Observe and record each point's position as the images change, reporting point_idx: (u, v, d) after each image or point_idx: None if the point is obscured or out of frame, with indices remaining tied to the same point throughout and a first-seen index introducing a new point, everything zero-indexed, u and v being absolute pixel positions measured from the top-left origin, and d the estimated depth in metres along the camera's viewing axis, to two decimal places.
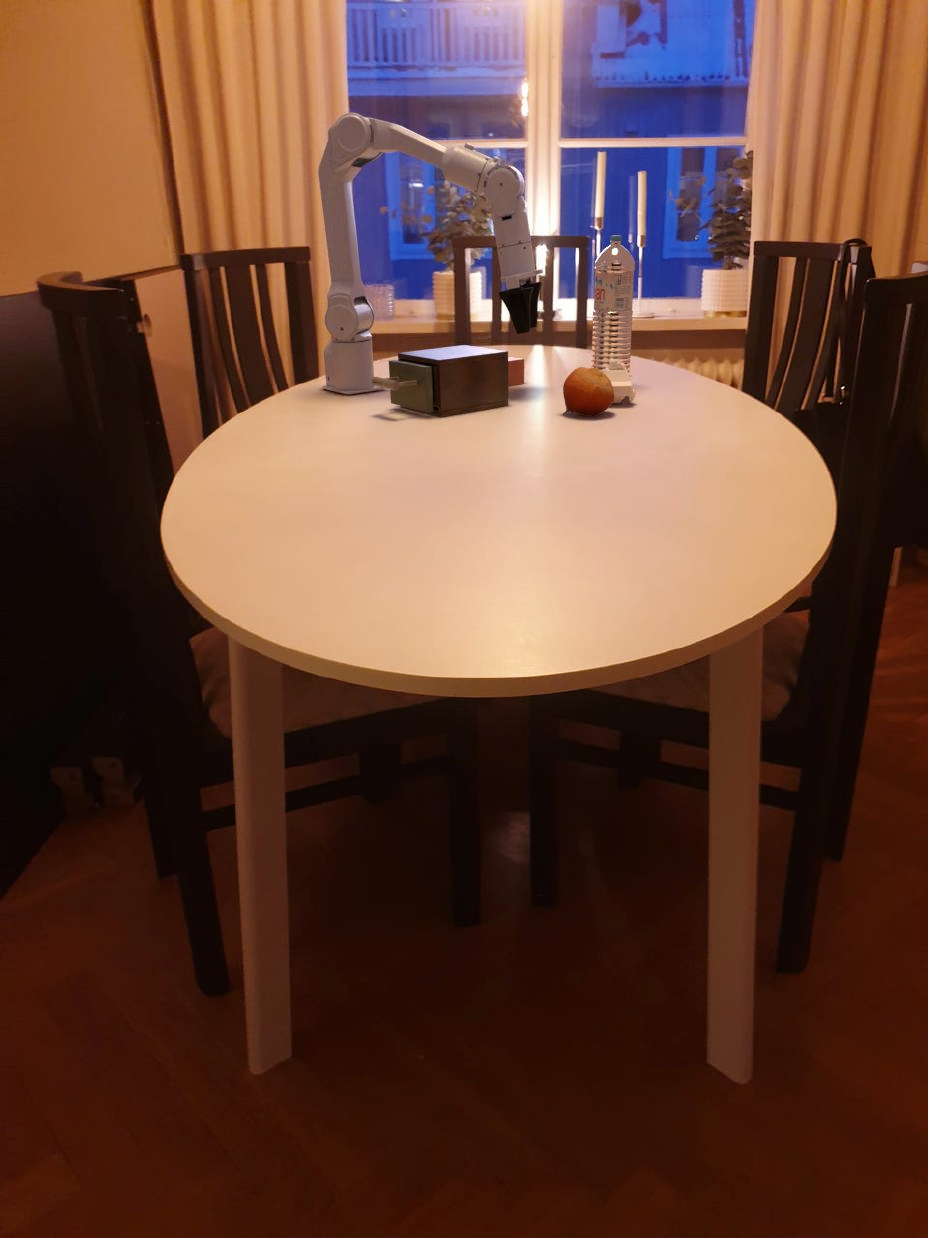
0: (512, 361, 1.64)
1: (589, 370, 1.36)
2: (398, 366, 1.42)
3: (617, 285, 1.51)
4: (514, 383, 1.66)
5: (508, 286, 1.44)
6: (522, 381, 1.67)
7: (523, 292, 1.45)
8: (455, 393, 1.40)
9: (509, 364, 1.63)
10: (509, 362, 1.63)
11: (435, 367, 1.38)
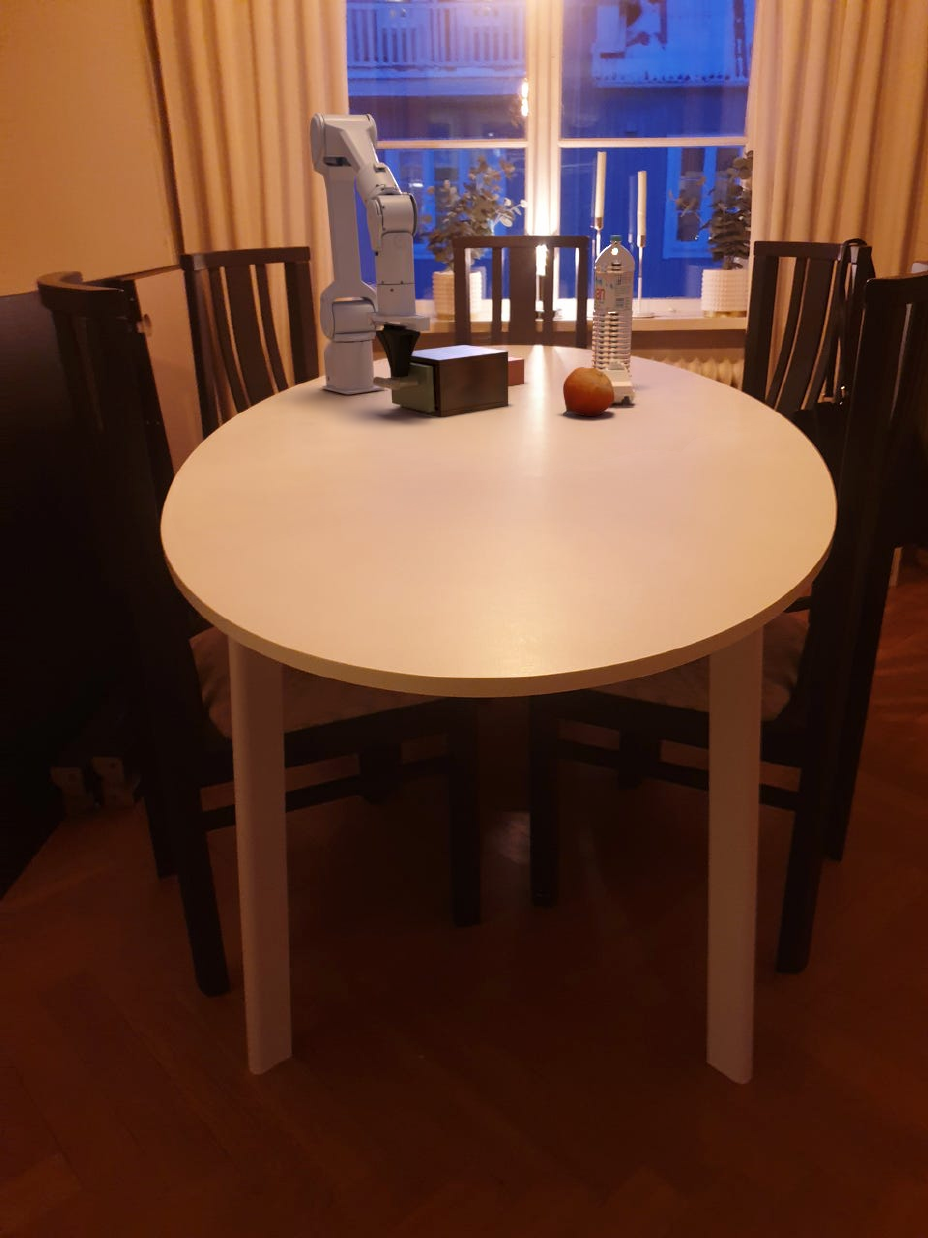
0: (512, 361, 1.64)
1: (589, 370, 1.36)
2: None
3: (617, 285, 1.51)
4: (514, 383, 1.66)
5: None
6: (522, 381, 1.67)
7: None
8: (455, 393, 1.40)
9: (509, 364, 1.63)
10: (509, 362, 1.63)
11: (436, 367, 1.39)
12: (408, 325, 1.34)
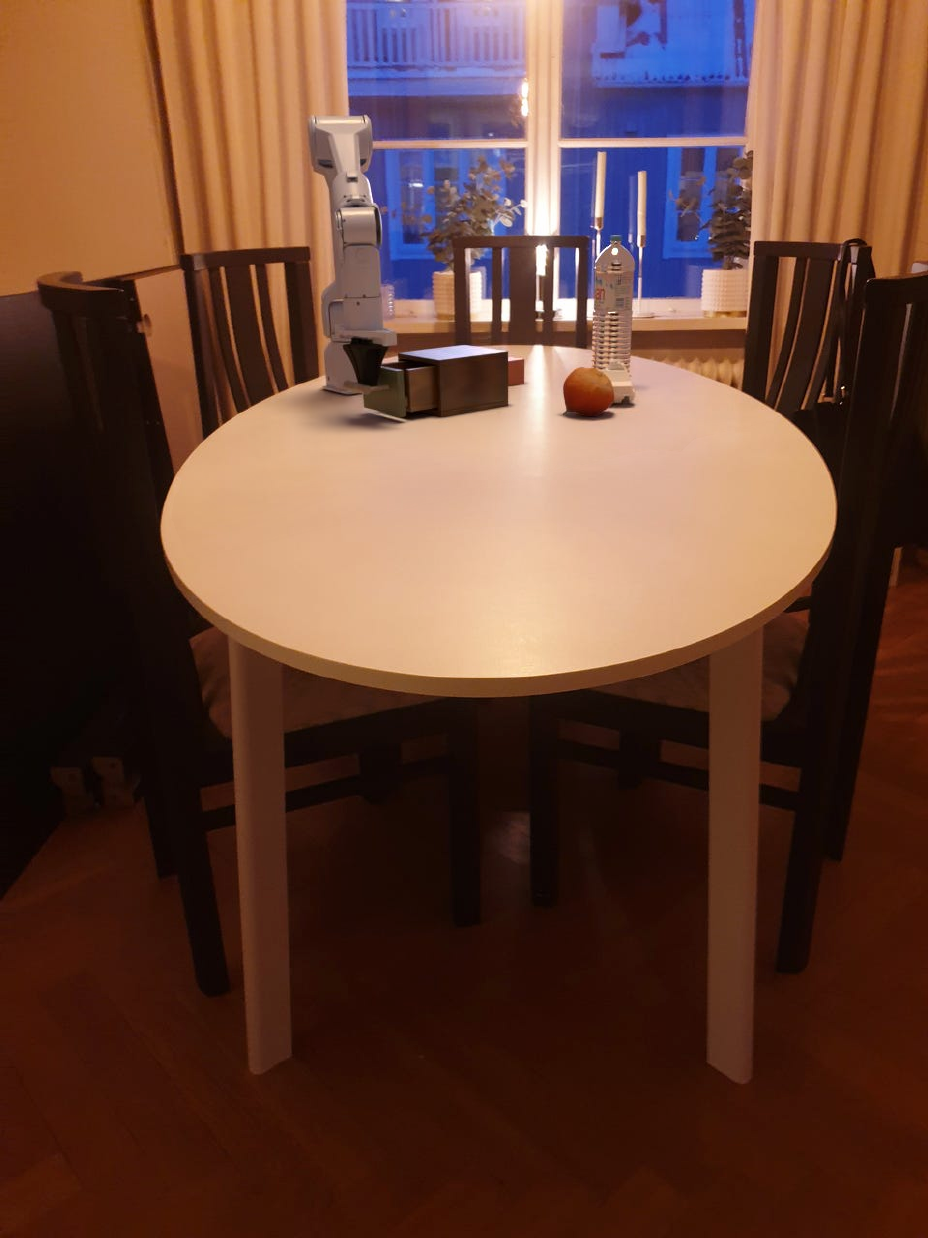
0: (512, 361, 1.64)
1: (589, 370, 1.36)
2: None
3: (617, 285, 1.51)
4: (514, 383, 1.66)
5: None
6: (522, 381, 1.67)
7: None
8: (455, 393, 1.40)
9: (509, 364, 1.63)
10: (509, 362, 1.63)
11: (407, 371, 1.36)
12: (375, 339, 1.32)
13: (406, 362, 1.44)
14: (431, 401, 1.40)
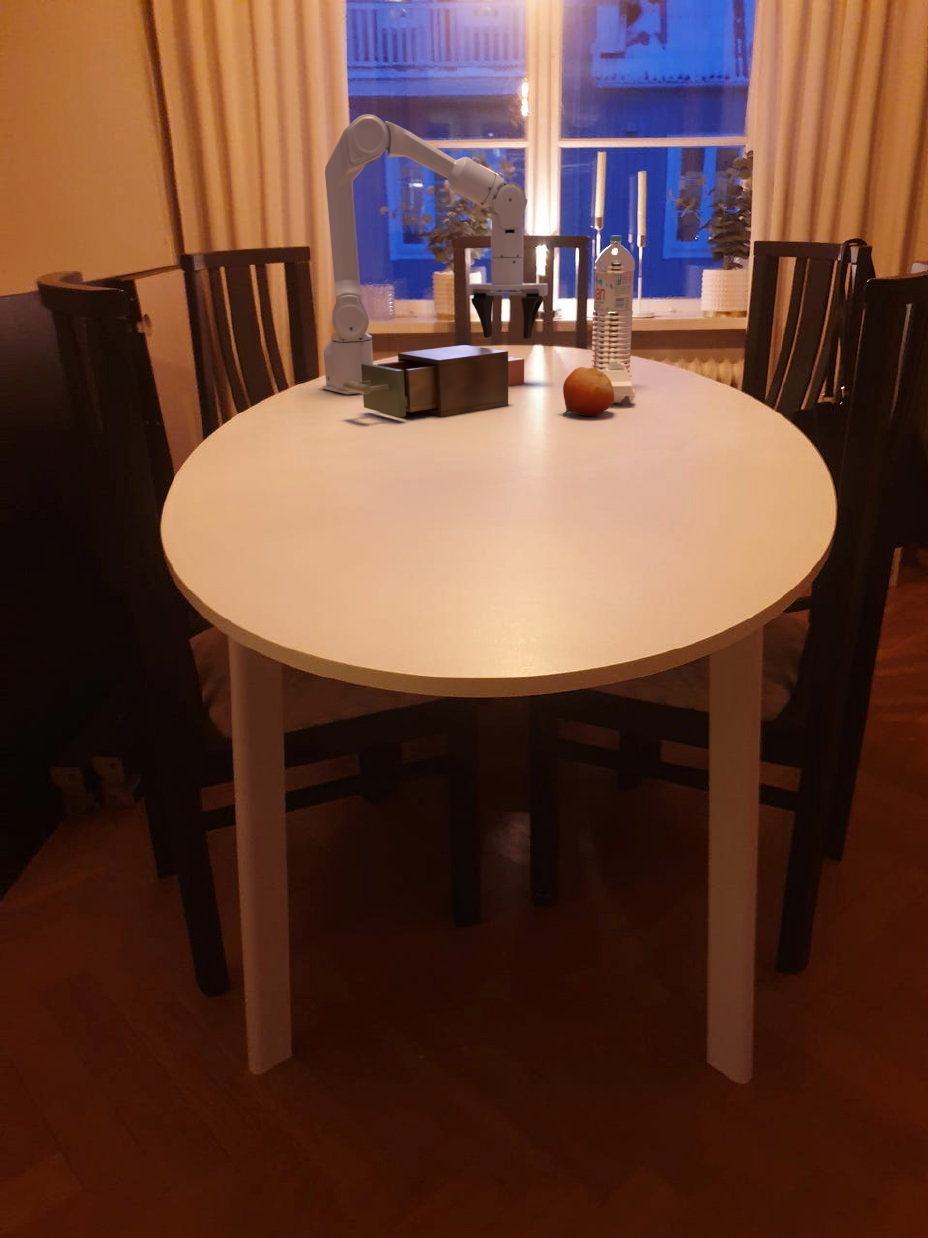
0: (512, 361, 1.64)
1: (589, 370, 1.36)
2: (370, 370, 1.39)
3: (617, 285, 1.51)
4: (514, 383, 1.66)
5: None
6: (522, 381, 1.67)
7: None
8: (455, 393, 1.40)
9: (509, 364, 1.63)
10: (509, 362, 1.63)
11: (407, 371, 1.36)
12: (524, 292, 1.59)
13: (406, 362, 1.44)
14: (431, 401, 1.40)
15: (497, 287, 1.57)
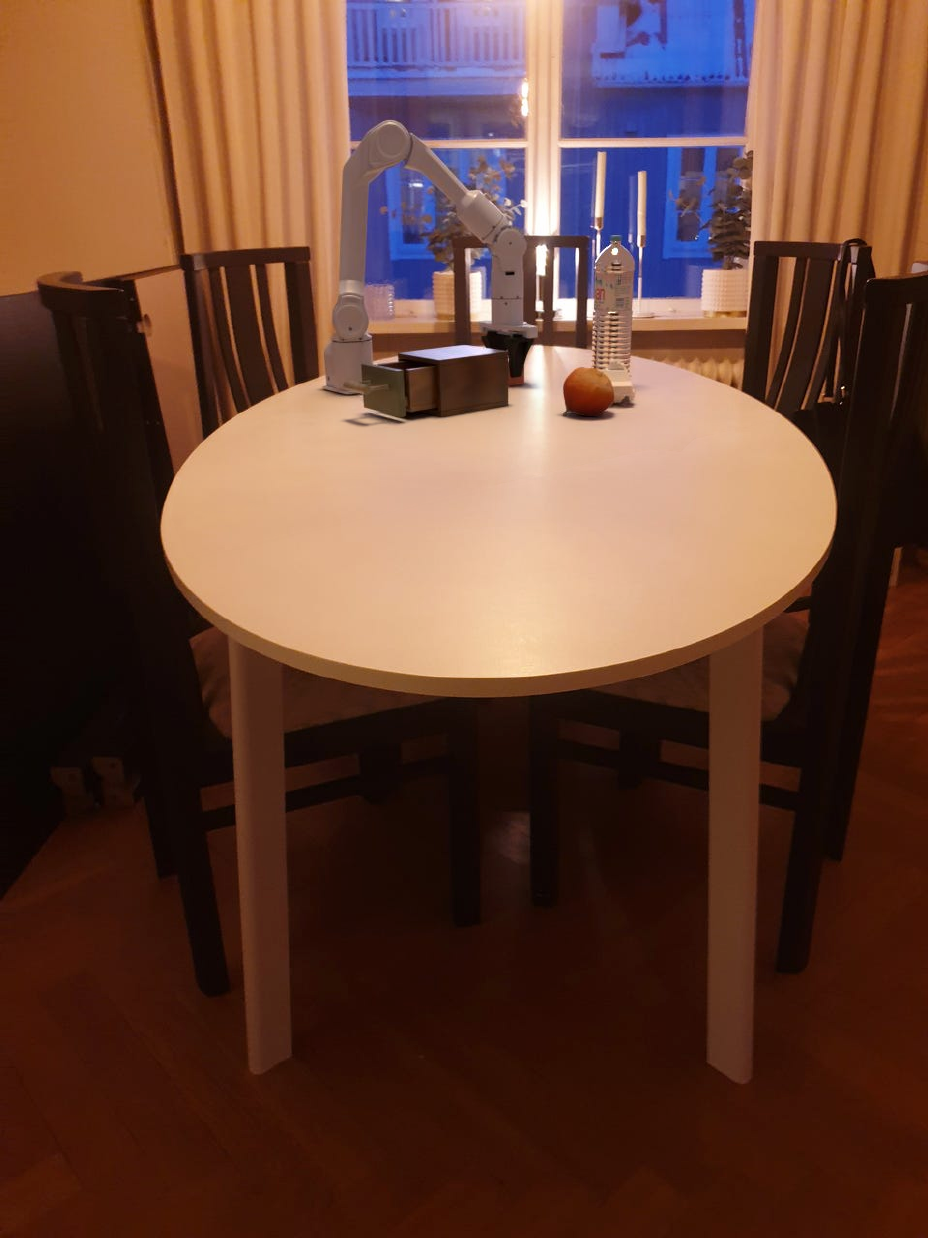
0: None
1: (589, 370, 1.36)
2: (370, 370, 1.39)
3: (617, 285, 1.51)
4: (514, 383, 1.66)
5: (531, 335, 1.58)
6: (522, 381, 1.67)
7: (529, 341, 1.62)
8: (455, 393, 1.40)
9: None
10: None
11: (407, 371, 1.36)
12: (496, 329, 1.66)
13: (406, 362, 1.44)
14: (431, 401, 1.40)
15: (525, 323, 1.65)
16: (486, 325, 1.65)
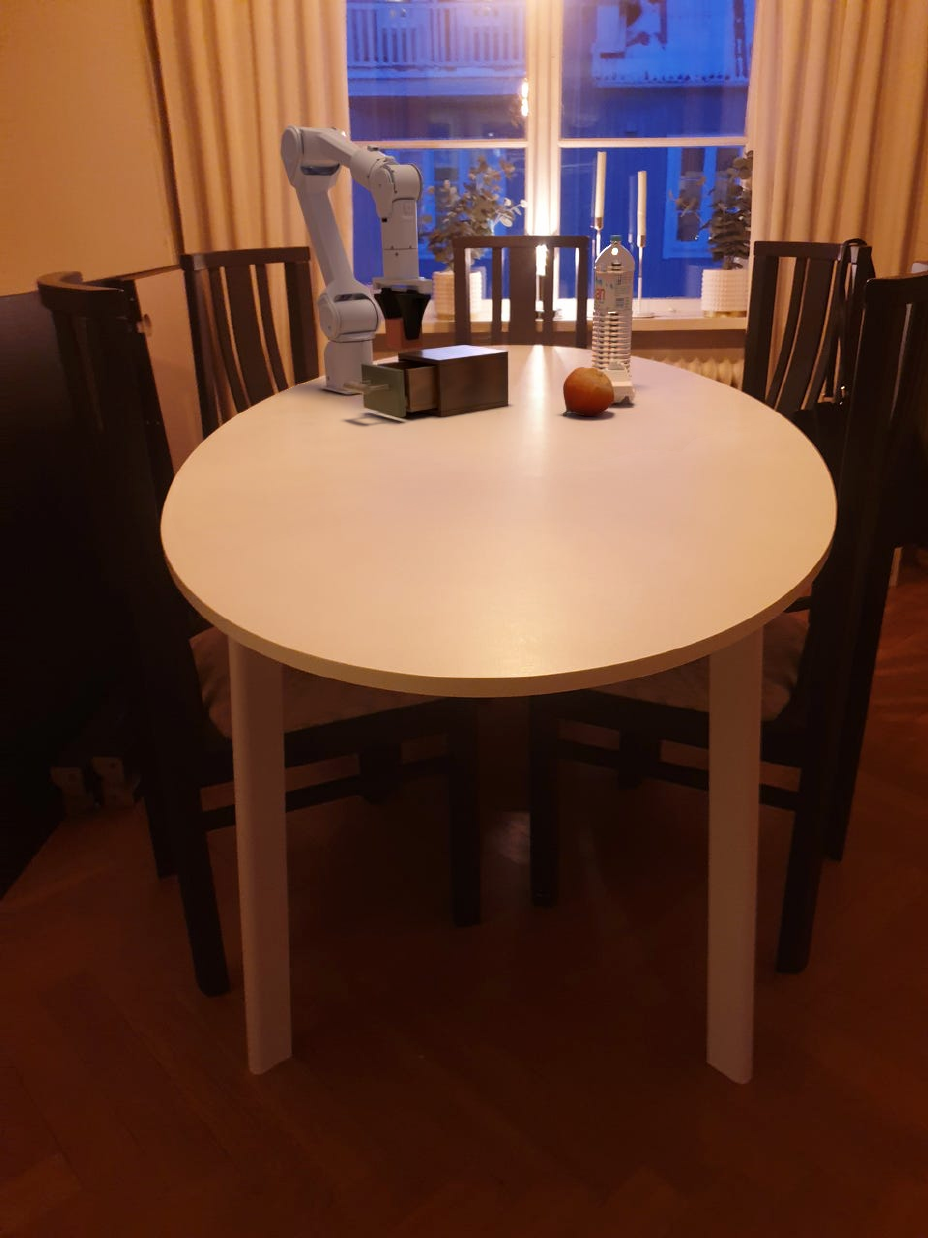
0: None
1: (589, 370, 1.36)
2: (370, 370, 1.39)
3: (617, 285, 1.51)
4: (411, 346, 1.47)
5: (424, 290, 1.40)
6: (420, 344, 1.48)
7: (425, 298, 1.43)
8: (455, 393, 1.40)
9: None
10: None
11: (407, 371, 1.36)
12: (391, 286, 1.48)
13: (406, 362, 1.44)
14: (431, 401, 1.40)
15: None
16: (379, 281, 1.46)
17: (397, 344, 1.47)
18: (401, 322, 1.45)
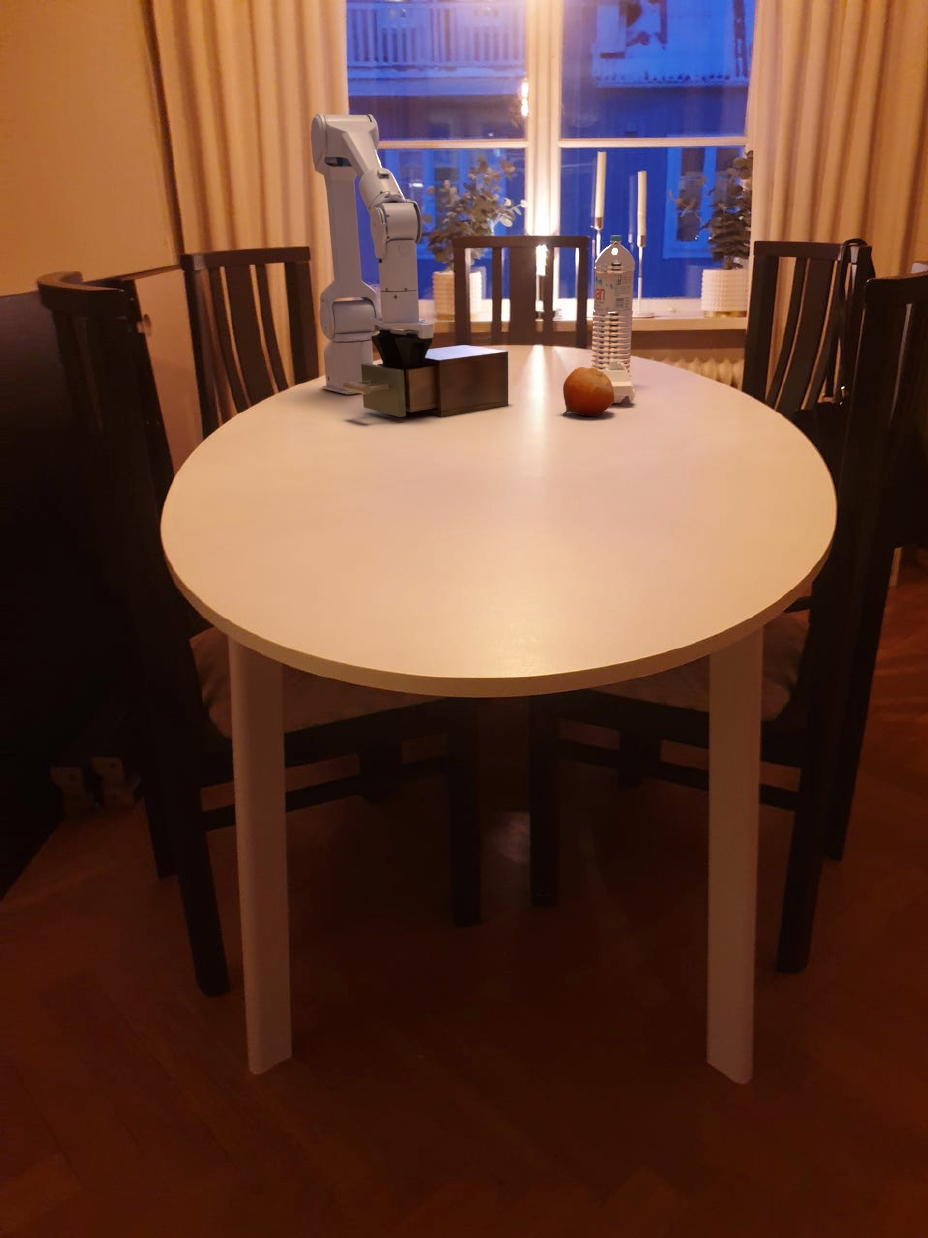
0: None
1: (589, 370, 1.36)
2: (370, 370, 1.39)
3: (617, 285, 1.51)
4: None
5: (424, 335, 1.32)
6: None
7: (426, 342, 1.36)
8: (455, 393, 1.40)
9: (404, 379, 1.38)
10: None
11: (407, 371, 1.36)
12: None
13: None
14: (431, 401, 1.40)
15: None
16: (377, 323, 1.39)
17: None
18: None
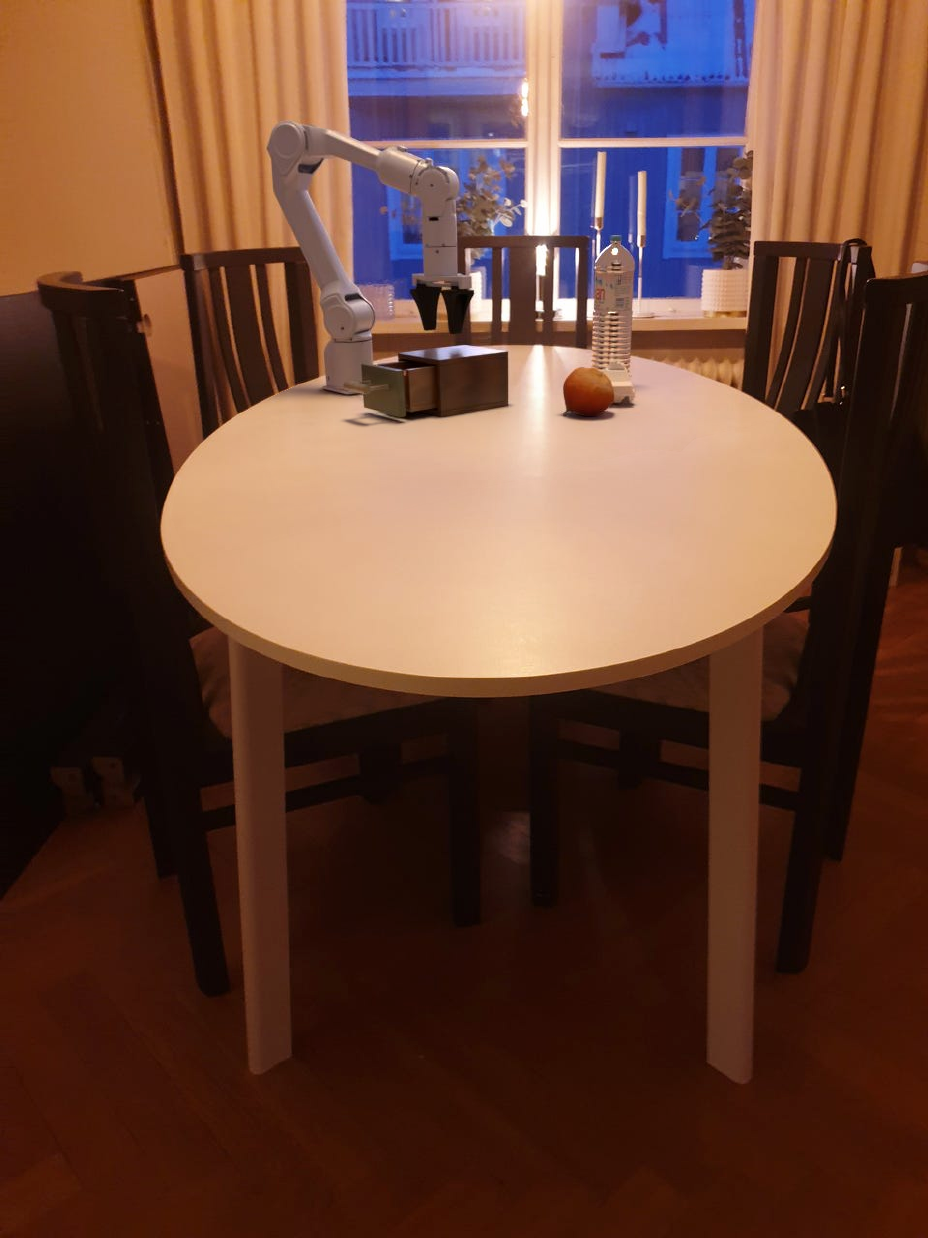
0: None
1: (589, 370, 1.36)
2: (370, 370, 1.39)
3: (617, 285, 1.51)
4: None
5: (464, 286, 1.46)
6: None
7: (469, 293, 1.49)
8: (455, 393, 1.40)
9: (404, 379, 1.38)
10: None
11: (407, 371, 1.36)
12: (430, 282, 1.55)
13: (406, 362, 1.44)
14: (431, 401, 1.40)
15: None
16: (419, 277, 1.53)
17: None
18: None
